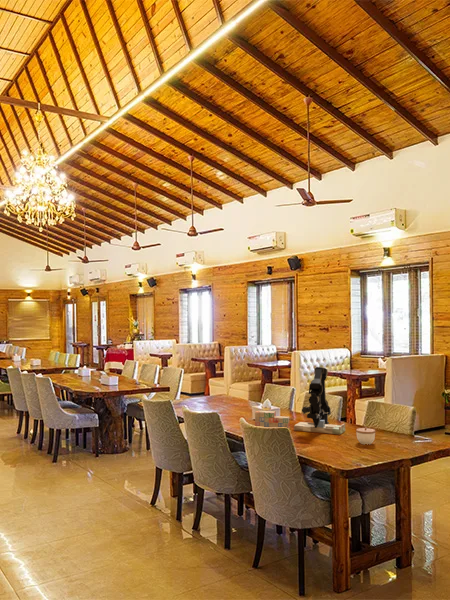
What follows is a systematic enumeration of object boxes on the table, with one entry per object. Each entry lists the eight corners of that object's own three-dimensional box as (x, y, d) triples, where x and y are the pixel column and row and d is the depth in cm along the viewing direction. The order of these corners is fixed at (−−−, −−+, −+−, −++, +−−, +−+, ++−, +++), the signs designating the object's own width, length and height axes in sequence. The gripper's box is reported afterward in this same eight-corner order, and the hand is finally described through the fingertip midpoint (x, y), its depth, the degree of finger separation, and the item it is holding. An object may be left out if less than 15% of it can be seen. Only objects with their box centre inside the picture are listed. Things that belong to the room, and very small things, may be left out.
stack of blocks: (289, 431, 355) (289, 411, 356) (288, 433, 349) (288, 413, 350) (257, 429, 361) (257, 410, 362) (254, 431, 355) (254, 411, 356)
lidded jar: (362, 446, 315) (361, 429, 315) (352, 441, 325) (352, 425, 325) (378, 444, 318) (378, 428, 318) (369, 440, 328) (369, 424, 328)
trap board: (300, 426, 370) (300, 419, 370) (345, 430, 357) (345, 423, 357) (293, 430, 358) (293, 423, 358) (340, 434, 345) (340, 427, 345)
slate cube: (318, 425, 356) (318, 419, 357) (324, 426, 355) (324, 420, 355) (317, 427, 353) (316, 420, 353) (323, 427, 351) (323, 421, 351)
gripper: (307, 399, 361) (307, 423, 360) (298, 403, 344) (298, 429, 343) (324, 400, 356) (324, 425, 356) (316, 405, 339) (316, 430, 339)
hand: (315, 427), depth 348 cm, fingers closed
